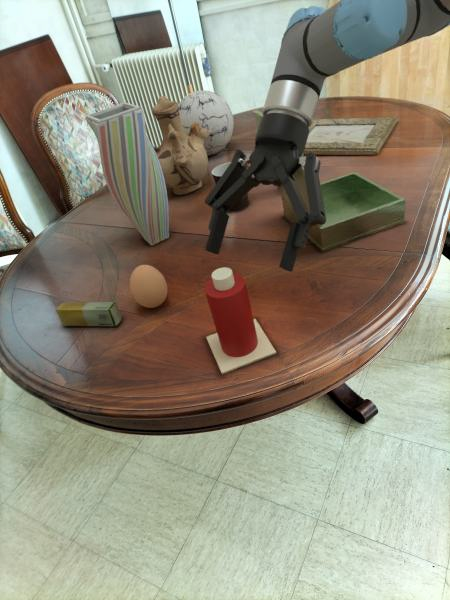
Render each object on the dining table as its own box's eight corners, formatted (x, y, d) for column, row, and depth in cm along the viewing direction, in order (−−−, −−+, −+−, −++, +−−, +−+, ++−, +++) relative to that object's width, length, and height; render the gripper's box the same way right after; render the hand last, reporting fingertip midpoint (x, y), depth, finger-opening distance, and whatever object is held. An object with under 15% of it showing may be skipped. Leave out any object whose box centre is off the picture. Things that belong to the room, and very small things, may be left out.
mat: (276, 353, 64) (276, 351, 64) (222, 374, 63) (221, 372, 63) (255, 320, 72) (255, 318, 71) (206, 338, 70) (206, 336, 70)
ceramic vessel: (144, 201, 123) (114, 112, 108) (181, 173, 134) (158, 90, 119) (194, 205, 113) (169, 109, 98) (229, 175, 125) (211, 85, 110)
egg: (174, 309, 79) (160, 271, 73) (139, 320, 78) (122, 282, 73) (170, 290, 84) (157, 252, 79) (138, 299, 84) (122, 262, 78)
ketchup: (263, 348, 65) (248, 276, 57) (227, 362, 65) (207, 291, 56) (250, 326, 70) (234, 256, 62) (216, 338, 69) (196, 270, 61)
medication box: (123, 318, 80) (117, 301, 78) (117, 327, 78) (110, 309, 75) (69, 318, 83) (61, 301, 81) (61, 326, 81) (54, 309, 79)
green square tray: (355, 192, 100) (354, 171, 97) (404, 222, 86) (405, 199, 83) (284, 216, 98) (281, 196, 95) (322, 252, 84) (320, 228, 80)
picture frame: (377, 156, 115) (378, 146, 113) (276, 155, 129) (275, 147, 128) (397, 122, 132) (397, 114, 130) (306, 125, 146) (305, 117, 145)
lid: (256, 109, 83) (252, 111, 83) (297, 129, 68) (292, 132, 68) (283, 193, 95) (279, 195, 95) (322, 225, 80) (318, 227, 80)
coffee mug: (232, 196, 113) (224, 160, 107) (259, 199, 108) (252, 162, 102) (206, 217, 106) (197, 180, 100) (233, 221, 101) (225, 183, 95)
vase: (142, 259, 96) (90, 126, 78) (122, 240, 106) (72, 117, 88) (192, 235, 100) (154, 103, 82) (168, 218, 110) (130, 98, 92)
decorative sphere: (196, 144, 155) (182, 86, 143) (246, 140, 147) (236, 79, 135) (172, 167, 141) (154, 104, 129) (226, 163, 133) (212, 97, 121)
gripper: (375, 135, 58) (332, 282, 59) (232, 133, 72) (199, 251, 73) (359, 107, 52) (311, 272, 52) (207, 111, 66) (171, 240, 67)
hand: (246, 260), depth 63 cm, fingers open, 13 cm apart
